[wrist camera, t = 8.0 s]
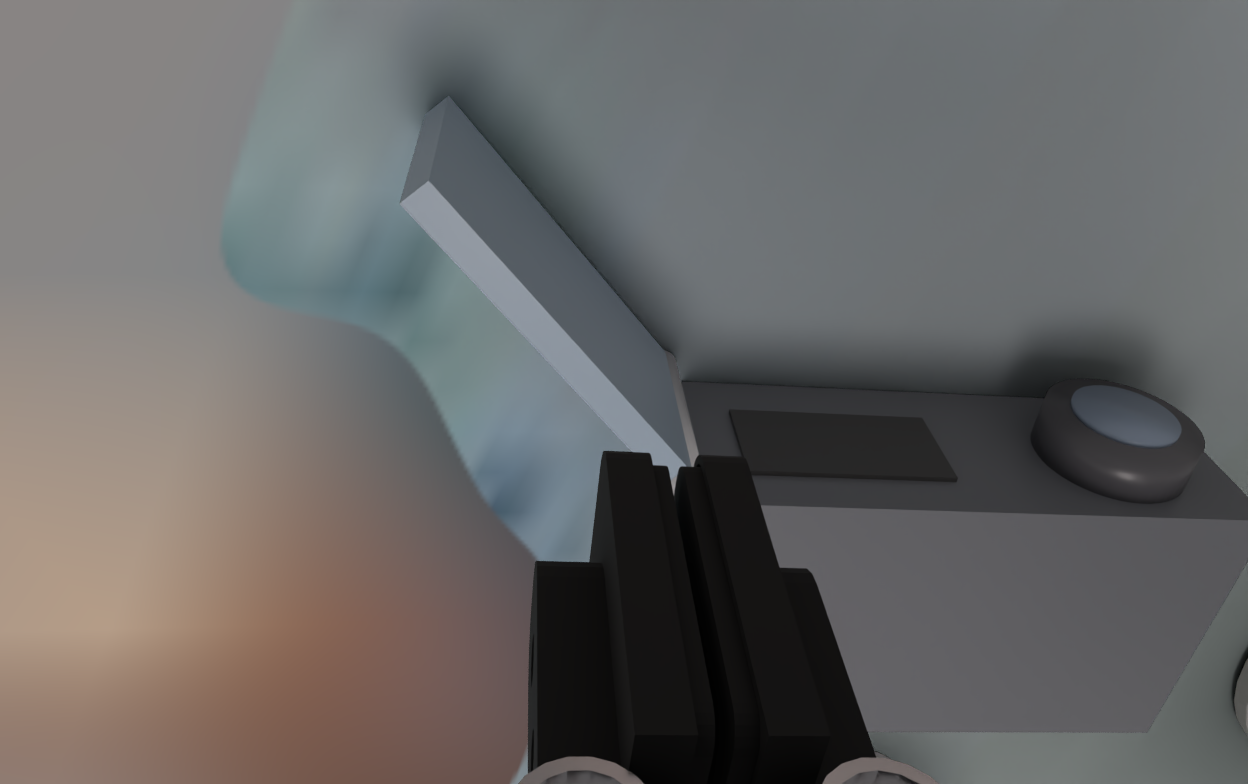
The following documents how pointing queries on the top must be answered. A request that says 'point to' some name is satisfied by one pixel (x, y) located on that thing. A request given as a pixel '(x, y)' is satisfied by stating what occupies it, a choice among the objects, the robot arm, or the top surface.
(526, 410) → the top surface
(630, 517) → the robot arm
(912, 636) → the camera body
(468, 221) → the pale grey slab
